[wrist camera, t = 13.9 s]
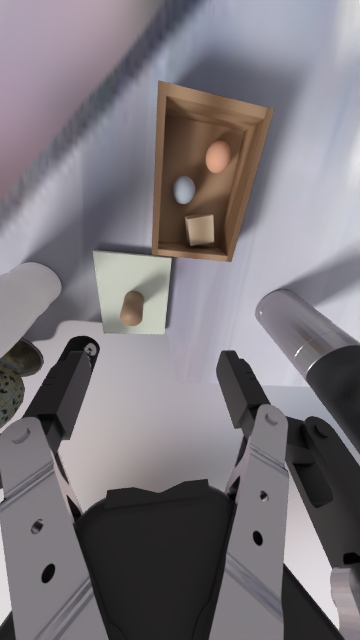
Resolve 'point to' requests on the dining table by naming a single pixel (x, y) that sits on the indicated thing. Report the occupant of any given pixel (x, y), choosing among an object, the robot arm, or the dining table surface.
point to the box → (204, 167)
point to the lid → (132, 291)
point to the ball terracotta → (218, 156)
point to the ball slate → (183, 189)
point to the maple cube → (199, 228)
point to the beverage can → (82, 349)
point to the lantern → (16, 376)
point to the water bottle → (24, 300)
